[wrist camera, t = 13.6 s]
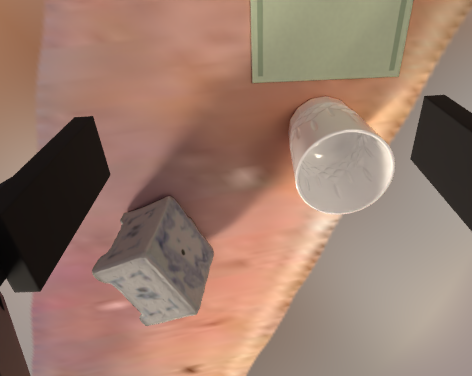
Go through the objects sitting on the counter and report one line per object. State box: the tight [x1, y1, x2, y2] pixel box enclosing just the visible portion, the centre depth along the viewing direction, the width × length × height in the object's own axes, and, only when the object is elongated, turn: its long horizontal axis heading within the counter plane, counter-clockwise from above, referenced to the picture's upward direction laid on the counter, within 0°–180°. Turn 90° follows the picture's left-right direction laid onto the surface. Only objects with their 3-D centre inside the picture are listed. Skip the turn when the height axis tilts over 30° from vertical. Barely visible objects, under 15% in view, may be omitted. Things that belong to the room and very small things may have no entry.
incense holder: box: [92, 196, 214, 326], centre depth 40 cm, size 10×8×10 cm
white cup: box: [288, 96, 395, 214], centre depth 33 cm, size 8×8×10 cm
